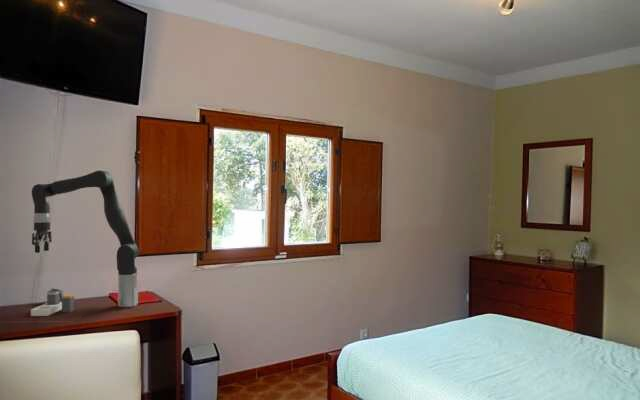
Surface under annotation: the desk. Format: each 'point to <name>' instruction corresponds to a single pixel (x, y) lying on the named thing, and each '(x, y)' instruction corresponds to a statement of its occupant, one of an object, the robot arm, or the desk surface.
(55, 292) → the twin plug
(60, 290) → the electrical switch
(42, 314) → the power strip
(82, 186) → the robot arm
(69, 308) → the plug
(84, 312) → the desk surface
